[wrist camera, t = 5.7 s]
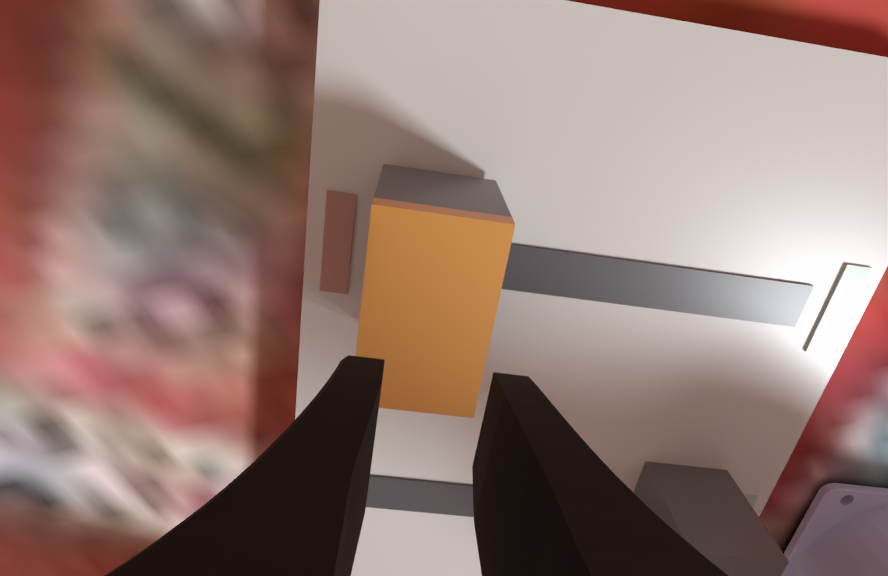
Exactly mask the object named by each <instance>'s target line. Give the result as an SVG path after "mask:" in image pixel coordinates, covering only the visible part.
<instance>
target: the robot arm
mask: <svg viewBox="0 0 888 576" xmlns="http://www.w3.org/2000/svg"><path fill="white" fill-rule="evenodd" d="M384 362H385V360H384V359H376V358H367V357H359V356H350V355H348V356H347V357H345V358H344V359H342V360H341V361H340V363H339V364H338V366H337V368H336V369H335V371H334V372H333V374H332V375H331V377H330V378H329V379H328V381H327V382H326V383H325V385H324V386H323V387H322V389H321V390H320V391H319V392H318V394H317V395H316V396H315V398H314V399H313V400H312V401H311V402H310V403H309V405H308V406H307V407H306V408H305V409H304V410H303V411H302V413H301V414H300V415H299V416H298V417H297V418H296V419H295V421H294V422H293V423H292V424H291V425H290V426H289V427H288V428H287V429H286V430H285V431H284V433H283V434H281V435H280V436H279V437H278V438H277V439H276V440H275V441H274V442H273V443H272V444H271V445H270V446H269V447H268V448H267V449H266V450H265V451H264V452H263V453H262V454H261V455H260V456H259V457H258V458H257V459H256V460H255V461H254V462H253V463H252V464H251V465H250V466H249V467H248V468H247V469H246V470H245V471H243V472H242V473H241V474H240V475H239V476H238V477H237V478H236V479H234V480H233V481H232V482H231V483H230V484H229V485H228V486H226V487H225V488H224V489H223V490H222V491H220V492H219V493H218V494H217V495H216V496H214V497H213V498H212V499H211V500H210V501H208V502H207V503H206V504H205V505H203V506H202V507H201V508H200V509H198V510H197V511H196V512H194V513H193V514H192V515H190V516H189V517H188V518H186V519H185V520H184V521H182V522H181V523H180V524H178V525H177V526H176V527H174V528H173V529H172V530H170V531H169V532H168V533H166V534H165V535H164V536H162V537H161V538H160V539H158V540H157V541H156V542H154V543H153V544H151V545H150V546H149V547H147V548H146V549H144V550H143V551H141V552H140V553H139V554H137V555H136V556H134V557H133V558H131V559H130V560H128V561H127V562H125V563H124V564H122V565H121V566H119V567H118V568H116V569H114V570H113V571H111V572H110V573H108V574H106V575H105V576H351V572H352V567H353V563H354V559H355V554H356V550H357V545H358V541H359V537H360V532H361V528H362V523H363V519H364V515H365V509H366V502H367V494H368V486H369V479H370V471H371V463H372V456H373V448H374V440H375V433H376V425H377V417H378V410H379V402H380V395H381V387H382V379H383V371H384ZM472 473H473V510H474V526H475V533H476V540H477V546H478V553H479V560H480V567H481V573H482V576H728V575H727V574H726V573H725V572H723V571H722V570H721V569H720V568H718V567H717V566H716V565H715V564H713V563H712V562H711V561H710V560H708V559H707V558H706V557H705V556H703V555H702V554H701V553H700V552H699V551H698V550H696V549H695V548H694V547H693V546H692V545H691V544H689V543H688V542H687V541H686V540H685V539H684V538H682V537H681V536H680V535H679V534H678V533H677V532H675V531H674V530H673V529H672V528H671V527H670V526H669V525H667V524H666V523H665V522H664V521H663V520H662V519H661V518H660V517H658V516H657V515H656V514H655V513H654V512H653V511H652V510H651V509H650V508H649V507H648V506H647V505H646V504H644V503H643V502H642V501H641V500H640V499H639V498H638V497H637V496H636V495H635V494H634V493H633V492H632V491H631V490H630V489H629V488H628V487H627V486H626V485H625V484H624V483H623V482H622V481H621V480H620V479H619V478H618V477H617V476H616V475H615V474H614V473H613V472H612V471H611V469H610V468H609V467H608V466H607V465H606V464H605V463H604V462H603V461H602V460H601V459H600V458H599V457H598V456H597V455H596V453H595V452H594V451H593V450H592V449H591V448H590V447H589V446H588V445H587V444H586V442H585V441H584V440H583V439H582V438H581V437H580V436H579V435H578V433H577V432H576V431H575V430H574V429H573V428H572V426H571V425H570V424H569V423H568V422H567V421H566V419H565V418H564V417H563V416H562V415H561V414H560V412H559V411H558V410H557V409H556V408H555V406H554V405H553V404H552V403H551V402H550V400H549V399H548V398H547V397H546V396H545V395H544V393H543V392H542V391H541V390H540V389H539V387H538V386H537V385H536V384H535V383H534V382H533V381H532V379H531V378H530V377H529V376H522V375H513V374H505V373H496V372H493V376H492V381H491V385H490V390H489V394H488V399H487V403H486V407H485V412H484V416H483V421H482V425H481V430H480V434H479V439H478V443H477V448H476V452H475V457H474V461H473V466H472ZM784 555H785V557H786V558H787V560H788V561H789V563H788V565H787V566H786V568H785V570H784V572H783V573H782V575H781V576H888V488H879V487H870V486H860V485H850V484H841V483H829V484H826V485H824V486H822V487H821V488H820V489H819V491H818V492H817V494H816V496H815V498H814V500H813V501H812V503H811V505H810V507H809V509H808V511H807V512H806V514H805V516H804V518H803V520H802V521H801V523H800V525H799V527H798V529H797V530H796V532H795V534H794V536H793V538H792V539H791V541H790V543H789V545H788V547H787V548H786V550H785V552H784Z"/></svg>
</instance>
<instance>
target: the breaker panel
mask: <svg viewBox="0 0 888 576" xmlns="http://www.w3.org/2000/svg"><path fill="white" fill-rule="evenodd" d="M383 164H388V165H394V166H401V167H408V168H415V169H422V170H428V171H435V172H442V173H449V174H456V175H462V176H469V177H476V178H483V179H490V180H496V182H497V184H498V186H499V189H500V191H501V193H502V195H503V198H504V200H505V202H506V204H507V207H508V209H509V211H510V214H511V216H512V218H513V220H514V223H515V228H514V233H513V238H512V242H511V247H510V252H509V256H508V261H507V266H506V270H505V275H504V280H503V284H502V289H501V293H500V298H499V303H498V307H497V312H496V317H495V321H494V326H493V331H492V335H491V340H490V345H489V349H488V354H487V358H486V363H485V368H484V372H483V377H482V382H481V386H480V391H479V396H478V400H477V405H476V410H475V414H474V418H468V417H458V416H449V415H440V414H431V413H422V412H412V411H403V410H394V409H385V408H379V410H378V417H377V425H376V433H375V440H374V448H373V456H372V463H371V471H370V479H369V486H368V494H367V502H366V509H365V515H364V519H363V523H362V528H361V532H360V537H359V541H358V545H357V550H356V554H355V559H354V563H353V567H352V572H351V576H482V573H481V567H480V560H479V553H478V546H477V540H476V533H475V526H474V510H473V473H472V466H473V461H474V457H475V452H476V448H477V443H478V439H479V434H480V430H481V425H482V421H483V416H484V412H485V407H486V403H487V399H488V394H489V390H490V385H491V381H492V376H493V372H496V373H505V374H513V375H522V376H529V377H530V378H531V379H532V381H533V382H534V383H535V384H536V385H537V386H538V387H539V389H540V390H541V391H542V392H543V393H544V395H545V396H546V397H547V398H548V399H549V400H550V402H551V403H552V404H553V405H554V406H555V408H556V409H557V410H558V411H559V412H560V414H561V415H562V416H563V417H564V418H565V419H566V421H567V422H568V423H569V424H570V425H571V426H572V428H573V429H574V430H575V431H576V432H577V433H578V435H579V436H580V437H581V438H582V439H583V440H584V441H585V442H586V444H587V445H588V446H589V447H590V448H591V449H592V450H593V451H594V452H595V453H596V455H597V456H598V457H599V458H600V459H601V460H602V461H603V462H604V463H605V464H606V465H607V466H608V467H609V468H610V469H611V471H612V472H613V473H614V474H615V475H616V476H617V477H618V478H619V479H620V480H621V481H622V482H623V483H624V484H625V485H626V486H627V487H628V488H629V489H630V490H631V491H632V492H633V493H634V494H635V495H636V496H637V497H638V498H639V499H640V500H641V501H642V502H643V503H644V504H646V505H647V506H648V507H649V508H650V509H651V510H652V511H653V512H654V513H655V514H656V515H657V516H658V517H660V518H661V519H662V520H663V521H664V522H665V523H666V524H667V525H669V526H670V527H671V528H672V529H673V530H674V531H675V532H677V533H678V534H679V535H680V536H681V537H682V538H684V539H685V540H686V541H687V542H688V543H689V544H691V545H692V546H693V547H694V548H695V549H696V550H698V551H699V552H700V553H701V554H702V555H703V556H705V557H706V558H707V559H708V560H710V561H711V562H712V563H713V564H715V565H716V566H717V567H718V568H720V569H721V570H722V571H723V572H725V573H726V574H727V575H728V576H781V575H782V573H783V572H784V570H785V568H786V566H787V565H788V563H789V561H788V560H787V558H786V557H785V555H784V554H783V552H782V551H781V549H780V548H779V546H778V545H777V543H776V542H775V540H774V539H773V537H772V536H771V534H770V533H769V531H768V530H767V528H766V527H765V525H764V524H763V522H762V521H761V520H760V518H759V517H760V515H761V513H762V511H763V509H764V507H765V505H766V503H767V501H768V499H769V497H770V495H771V493H772V491H773V489H774V487H775V485H776V483H777V481H778V479H779V477H780V475H781V473H782V471H783V470H784V468H785V466H786V464H787V462H788V460H789V458H790V456H791V454H792V452H793V450H794V448H795V446H796V444H797V442H798V440H799V438H800V436H801V434H802V432H803V430H804V428H805V426H806V424H807V422H808V421H809V419H810V417H811V415H812V413H813V411H814V409H815V407H816V405H817V403H818V401H819V399H820V397H821V395H822V393H823V391H824V389H825V387H826V385H827V383H828V381H829V379H830V377H831V375H832V374H833V372H834V370H835V368H836V366H837V364H838V362H839V360H840V358H841V356H842V354H843V352H844V350H845V348H846V346H847V344H848V342H849V340H850V338H851V336H852V334H853V332H854V330H855V328H856V327H857V325H858V323H859V321H860V319H861V317H862V315H863V313H864V311H865V309H866V307H867V305H868V303H869V301H870V299H871V297H872V295H873V293H874V291H875V289H876V287H877V285H878V283H879V281H880V280H881V278H882V276H883V274H884V272H885V270H886V268H887V266H888V57H883V56H878V55H872V54H866V53H861V52H855V51H849V50H844V49H838V48H832V47H827V46H821V45H815V44H810V43H804V42H799V41H793V40H787V39H782V38H776V37H770V36H765V35H759V34H753V33H748V32H742V31H736V30H731V29H725V28H720V27H714V26H708V25H703V24H697V23H691V22H686V21H680V20H674V19H669V18H663V17H657V16H652V15H646V14H641V13H635V12H629V11H624V10H618V9H612V8H607V7H601V6H595V5H590V4H584V3H578V2H573V1H567V0H320V3H319V20H318V37H317V54H316V71H315V88H314V105H313V122H312V139H311V156H310V174H309V191H308V208H307V225H306V242H305V259H304V276H303V293H302V310H301V327H300V344H299V361H298V378H297V396H296V413H295V419H296V418H297V417H298V416H299V415H300V414H301V413H302V411H303V410H304V409H305V408H306V407H307V406H308V405H309V403H310V402H311V401H312V400H313V399H314V398H315V396H316V395H317V394H318V392H319V391H320V390H321V389H322V387H323V386H324V385H325V383H326V382H327V381H328V379H329V378H330V377H331V375H332V374H333V372H334V371H335V369H336V368H337V366H338V364H339V363H340V361H341V360H342V359H344V358H345V357H347V356H348V355H350V356H356V347H357V337H358V328H359V318H360V309H361V299H362V290H363V280H364V271H365V262H366V252H367V243H368V233H369V224H370V214H371V205H372V201H373V198H374V194H375V191H376V188H377V184H378V181H379V178H380V174H381V171H382V168H383Z"/></svg>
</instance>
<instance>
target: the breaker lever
mask: <svg viewBox="0 0 888 576" xmlns="http://www.w3.org/2000/svg"><path fill="white" fill-rule="evenodd" d="M514 228H515V223H514V220H513V218H512V216H511V214H510V211H509V209H508V207H507V204H506V202H505V200H504V198H503V195H502V193H501V191H500V189H499V186H498V184H497V182H496V180H490V179H483V178H476V177H469V176H462V175H456V174H449V173H442V172H435V171H428V170H422V169H415V168H408V167H401V166H394V165H388V164H383V168H382V171H381V174H380V178H379V181H378V184H377V188H376V191H375V194H374V198H373V201H372V205H371V214H370V224H369V233H368V243H367V252H366V262H365V271H364V280H363V290H362V299H361V309H360V318H359V328H358V337H357V347H356V356H359V357H367V358H376V359H384V360H385V362H384V371H383V379H382V387H381V395H380V402H379V408H385V409H394V410H403V411H412V412H422V413H431V414H440V415H449V416H458V417H468V418H474V414H475V410H476V405H477V400H478V396H479V391H480V386H481V382H482V377H483V372H484V368H485V363H486V358H487V354H488V349H489V345H490V340H491V335H492V331H493V326H494V321H495V317H496V312H497V307H498V303H499V298H500V293H501V289H502V284H503V280H504V275H505V270H506V266H507V261H508V256H509V252H510V247H511V242H512V238H513V233H514Z"/></svg>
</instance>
